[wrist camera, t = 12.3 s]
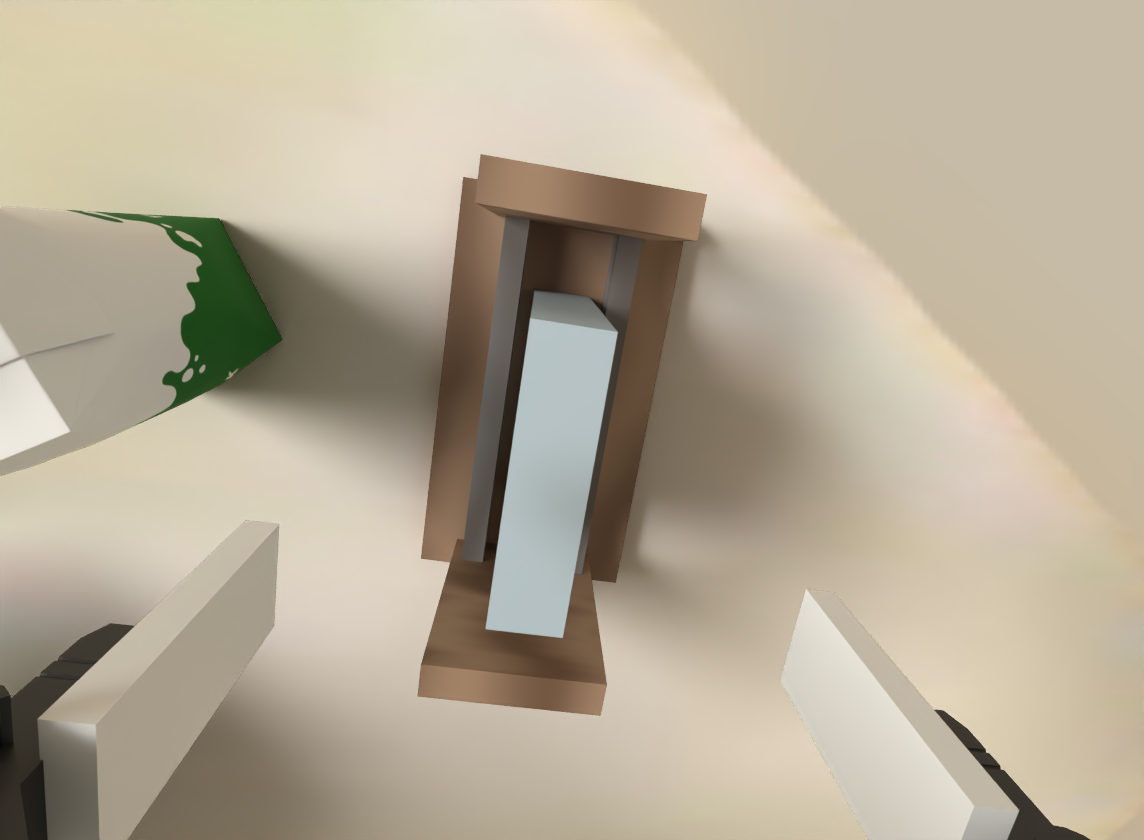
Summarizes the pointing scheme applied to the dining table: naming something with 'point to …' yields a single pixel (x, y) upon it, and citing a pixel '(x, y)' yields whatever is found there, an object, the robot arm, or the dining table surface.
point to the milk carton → (114, 324)
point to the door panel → (551, 463)
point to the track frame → (490, 399)
